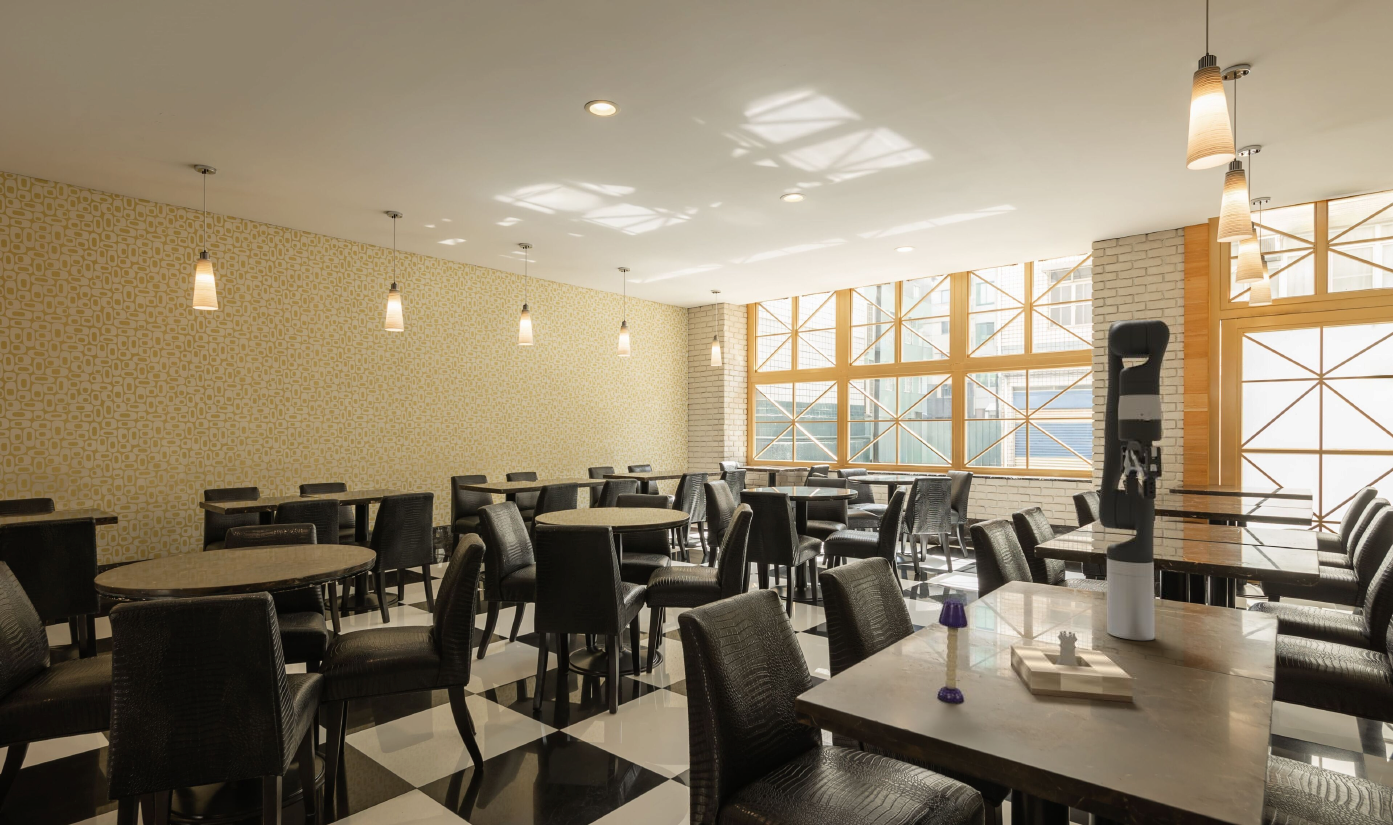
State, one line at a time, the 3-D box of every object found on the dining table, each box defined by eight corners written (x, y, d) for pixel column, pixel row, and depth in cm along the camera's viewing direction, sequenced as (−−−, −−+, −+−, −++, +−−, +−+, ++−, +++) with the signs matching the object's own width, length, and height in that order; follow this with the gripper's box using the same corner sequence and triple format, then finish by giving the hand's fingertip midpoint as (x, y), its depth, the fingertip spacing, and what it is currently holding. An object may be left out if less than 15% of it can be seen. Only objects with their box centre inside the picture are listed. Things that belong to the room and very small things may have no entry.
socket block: (1010, 665, 140) (1010, 644, 140) (1099, 672, 136) (1099, 650, 137) (1031, 693, 124) (1031, 670, 124) (1132, 702, 121) (1132, 678, 121)
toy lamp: (967, 696, 122) (966, 599, 123) (967, 705, 118) (967, 604, 119) (937, 692, 124) (937, 596, 125) (937, 702, 120) (937, 602, 120)
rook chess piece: (1084, 682, 128) (1084, 637, 128) (1057, 679, 129) (1056, 634, 129) (1078, 674, 132) (1077, 630, 132) (1051, 671, 133) (1051, 628, 133)
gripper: (1107, 418, 153) (1107, 493, 153) (1133, 416, 139) (1133, 499, 139) (1145, 418, 152) (1146, 494, 151) (1175, 417, 138) (1176, 500, 137)
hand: (1140, 497), depth 145 cm, fingers open, 8 cm apart
